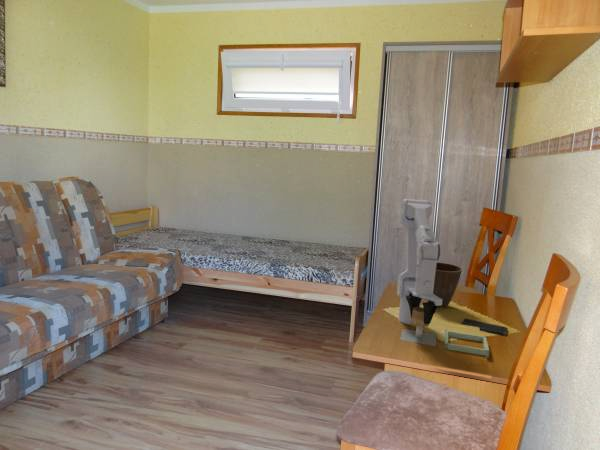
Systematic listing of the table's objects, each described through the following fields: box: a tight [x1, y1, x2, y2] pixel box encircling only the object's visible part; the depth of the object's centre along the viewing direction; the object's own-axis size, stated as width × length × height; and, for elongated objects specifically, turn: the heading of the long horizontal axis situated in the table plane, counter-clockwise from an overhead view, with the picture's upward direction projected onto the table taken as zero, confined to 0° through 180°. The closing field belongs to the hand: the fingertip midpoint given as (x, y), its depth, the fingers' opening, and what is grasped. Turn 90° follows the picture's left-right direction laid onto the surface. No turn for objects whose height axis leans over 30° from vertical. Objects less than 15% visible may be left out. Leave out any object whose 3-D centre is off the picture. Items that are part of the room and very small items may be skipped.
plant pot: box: [433, 261, 463, 309], centre depth 197 cm, size 15×15×16 cm
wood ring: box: [411, 306, 430, 328], centre depth 158 cm, size 5×5×5 cm
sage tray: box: [444, 329, 490, 359], centre depth 155 cm, size 13×13×2 cm
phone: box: [460, 318, 509, 336], centre depth 175 cm, size 8×1×15 cm
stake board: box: [399, 325, 437, 347], centre depth 158 cm, size 11×11×5 cm
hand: (420, 320), depth 158 cm, fingers closed on wood ring, 5 cm apart
